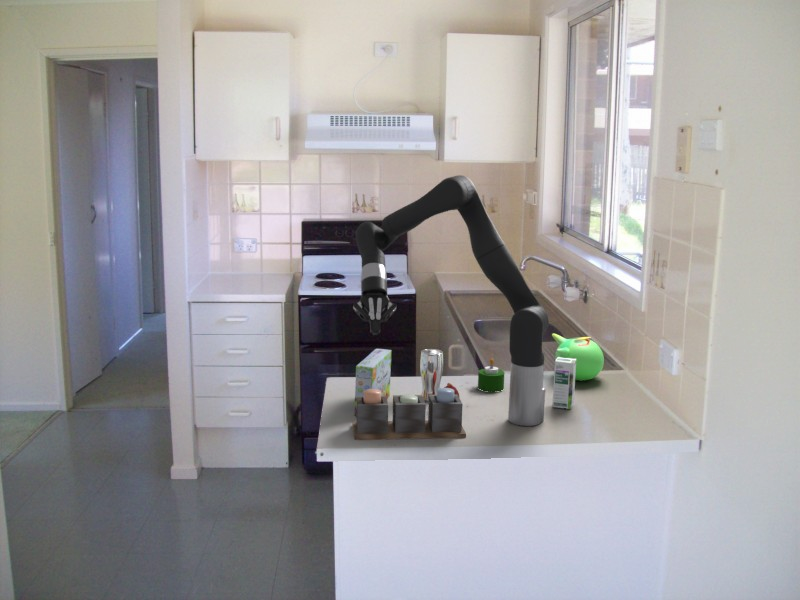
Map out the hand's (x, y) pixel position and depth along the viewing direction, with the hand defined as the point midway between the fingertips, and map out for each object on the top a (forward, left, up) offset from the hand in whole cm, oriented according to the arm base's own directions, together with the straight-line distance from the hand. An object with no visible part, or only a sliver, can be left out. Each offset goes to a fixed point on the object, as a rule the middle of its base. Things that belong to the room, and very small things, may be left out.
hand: (375, 333), depth 236 cm
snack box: (-5, -9, -25) cm, 27 cm away
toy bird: (-78, -1, -25) cm, 82 cm away
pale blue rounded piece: (-12, +19, -18) cm, 28 cm away
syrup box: (-55, +18, -25) cm, 63 cm away
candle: (-46, -6, -25) cm, 53 cm away
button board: (-3, +14, -25) cm, 29 cm away
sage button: (-3, +14, -19) cm, 24 cm away
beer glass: (-23, -6, -25) cm, 34 cm away
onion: (-23, +4, -25) cm, 34 cm away
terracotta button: (+7, +10, -18) cm, 21 cm away
